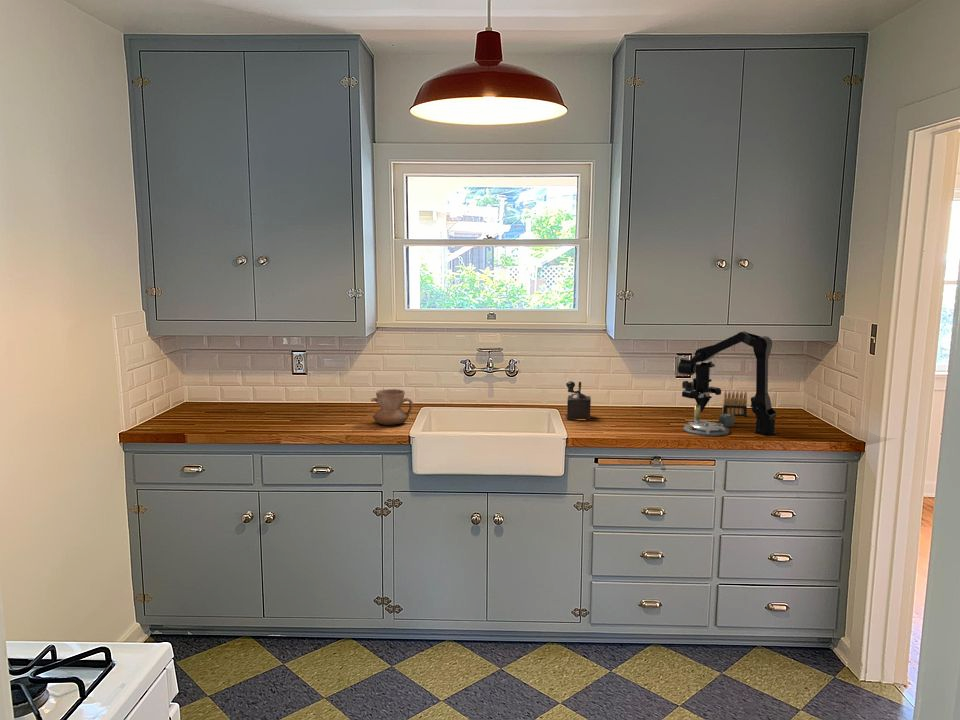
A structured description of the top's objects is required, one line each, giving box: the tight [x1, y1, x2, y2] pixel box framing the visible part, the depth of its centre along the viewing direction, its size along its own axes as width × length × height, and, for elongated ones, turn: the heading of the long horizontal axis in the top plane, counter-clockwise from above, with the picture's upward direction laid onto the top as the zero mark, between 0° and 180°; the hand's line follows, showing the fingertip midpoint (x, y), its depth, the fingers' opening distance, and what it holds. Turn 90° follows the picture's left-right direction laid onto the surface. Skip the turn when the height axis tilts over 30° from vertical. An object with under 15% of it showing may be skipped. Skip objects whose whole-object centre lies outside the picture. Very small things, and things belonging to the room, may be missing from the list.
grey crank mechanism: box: [687, 404, 726, 432], centre depth 291 cm, size 20×15×7 cm
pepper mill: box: [565, 380, 592, 420], centre depth 309 cm, size 16×11×18 cm
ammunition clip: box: [721, 389, 748, 417], centre depth 317 cm, size 11×2×12 cm, turn 83°
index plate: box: [683, 424, 730, 437], centre depth 289 cm, size 18×18×1 cm
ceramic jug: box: [370, 388, 414, 426], centre depth 299 cm, size 18×14×14 cm
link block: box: [718, 413, 735, 428], centre depth 298 cm, size 3×6×5 cm, turn 122°
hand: (700, 411), depth 303 cm, fingers closed
